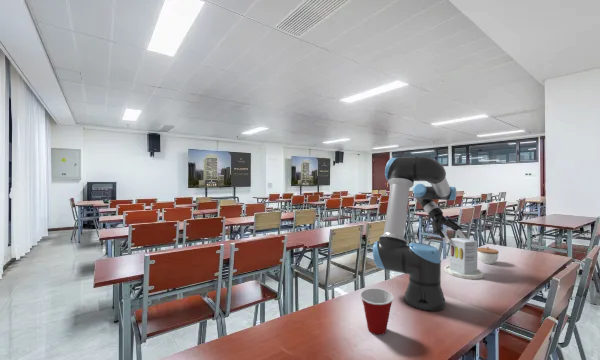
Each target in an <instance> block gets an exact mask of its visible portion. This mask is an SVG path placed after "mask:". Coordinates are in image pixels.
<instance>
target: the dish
mask: <svg viewBox="0 0 600 360" xmlns="http://www.w3.org/2000/svg"><path fill="white" fill-rule="evenodd" d="M443 269H444V272H445V274H448V275H449V276H452V277H455V278H461V279H465V280H466V279H467V280H481V279H483V278H484V274H485V273H484V272H483V271H482V270H481V269H478V268H477V273H471V274H462V273H459V272H457V271H454V270H452V269H450V264H447V265H445V266H444V267H443Z"/></svg>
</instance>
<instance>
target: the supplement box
mask: <svg viewBox="0 0 600 360" xmlns="http://www.w3.org/2000/svg"><path fill="white" fill-rule="evenodd" d="M466 238H467V237H466ZM466 238H460V237H452V238H449V239H450V242H449V243H450V244H449V245H450V246H449V265H450V269H452V270H454V271H457V272H459V273H462V274H471V273H477V269H478V254H477V248H478V246H479V245H478V244H479V243H478V240H473V239H470V238H467V239H466Z"/></svg>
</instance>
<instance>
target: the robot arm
mask: <svg viewBox="0 0 600 360" xmlns="http://www.w3.org/2000/svg"><path fill="white" fill-rule="evenodd" d="M384 168H385V169H384V177H385V180H386V181H387V183H388V185H389V186H390V187H389V195H388V202H387V208H386V216H385V222H384V229H383V234H381V235H380V236H379V238H378V240H377V241H374V242H373V247H372V258H373V262H374V264H375V266H376V267H377V268H379V269H381V270H385V271H390V272H396V273H401V274H407V275H408V277H409V278H408V279H409V281H408V284H407V287H406V291H405V292H404V301H405V303H406V304H407V305H409V306H411V307H413V308H415V307H416V309H418V308H419V310H422V309H423V311H427V310H430V311H429V312H436V310H439V311H442V310H441V309H443V308H444V309H445V308H446V299H445V295H444V292H443V289H442V287H441V286H442V285H441V283H442V282H441V281H442V280H441V272H442V271H441V270H442V269H441V265H442V260H441V258H442V257H441V252H440V249H438V248H437V247H435V246H434V245H431V244H429V243H424V242H417V241H416V242H415V241H414V242H410V243H409V244H407V242H408V241H407V240H406V239H405V229H406V222H407V221H406V220H407V212H408V205H409V204H408V203H409V197H410V196H409V194H410V190H411V188H412V187H413V188H412V192H413V196H414V198H415V199H416V201H417V202H418V203H419V204H420V206H421V207H422V208H423V210H424V211H425V213H426V214H427V215H428V216H429V218H430V219H429V222H430V223H431V226H432V229H433V232H434V233H435V234H436V235H439V236H440V238H441V239H442V240H443V241H444V242H445V244H449V243H450V239H451V238H449V236H448V235H447V234H446V233H445V231H444V230H443V229H442V225H443V226H446V227H449V228H450V229H451V230H453V231H454V232H455V234H456V235H457V237H458V238H466V239H468V237H466V235H464V233H463V232H462V231H461V228H462V227H461V226H460V225H459V224H458V223H457V222H455V221H454V220H453V219H451V218H450V217H449V216H448V215H446V216H445V215H444V212H443V210H442V209H441V208H440V207H439V206H438V204H437V203H436V202H435V200H440V201H455V200H456V199H457V188H456V187H455V186H451V185H450V184H449V182H448V180H447V177H446V175H447V173H446V172H447V171H446V169H445V167H444V166H443V165H442V164H441V163H440V162H438V161H437V160H435V159H434V158H431V157H428V156H425V155H424V156H423V155H422V156H421V155H420V156H404V157H402V156H397V157H391V158H390V159H389V160H388V161H387V162H386V165H385V167H384ZM414 182H427V183H428V184H430V186H428V185H427V186H426V185H425V184H423V183H416V184H415V183H414ZM414 184H415V185H414ZM444 309H443V310H444Z"/></svg>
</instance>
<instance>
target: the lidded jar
mask: <svg viewBox="0 0 600 360" xmlns="http://www.w3.org/2000/svg"><path fill="white" fill-rule="evenodd" d="M477 259H479V260H480V262H481V263H483V264H486V265H494V263H496V262H497V261H498V259H499V250H497V249H495V248H490V247H489V246H486V247H477Z"/></svg>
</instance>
